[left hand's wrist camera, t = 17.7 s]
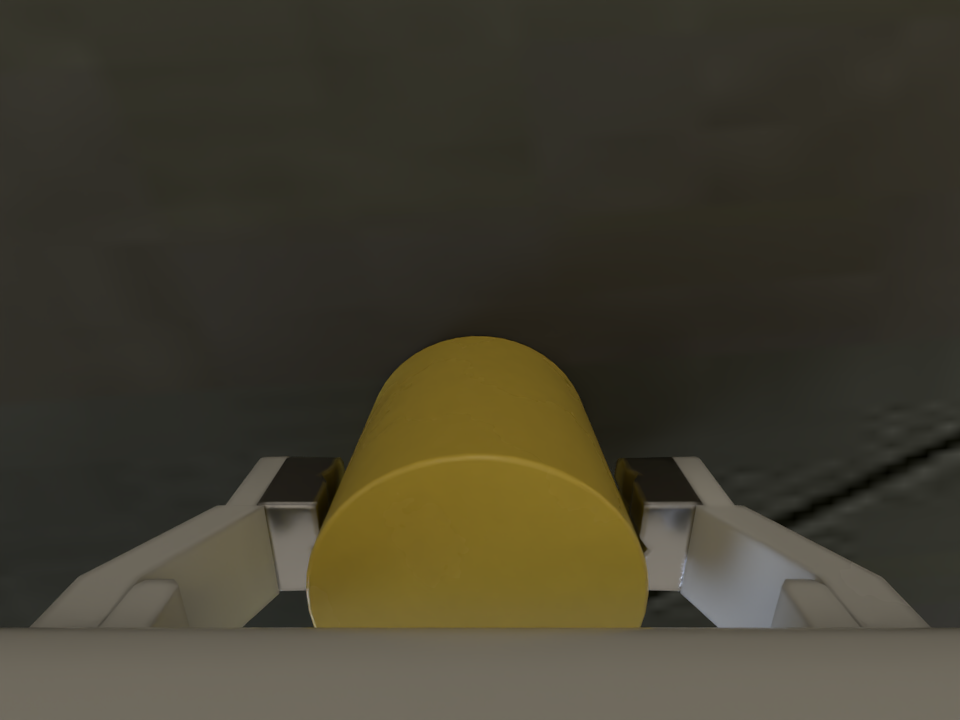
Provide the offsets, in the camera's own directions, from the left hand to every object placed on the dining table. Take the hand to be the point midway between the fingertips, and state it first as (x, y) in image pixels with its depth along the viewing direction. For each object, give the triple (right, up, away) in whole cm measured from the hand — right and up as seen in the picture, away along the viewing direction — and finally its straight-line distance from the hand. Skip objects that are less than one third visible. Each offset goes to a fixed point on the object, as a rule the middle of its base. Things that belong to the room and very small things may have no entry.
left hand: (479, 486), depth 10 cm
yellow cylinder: (0, +1, +2) cm, 2 cm away
